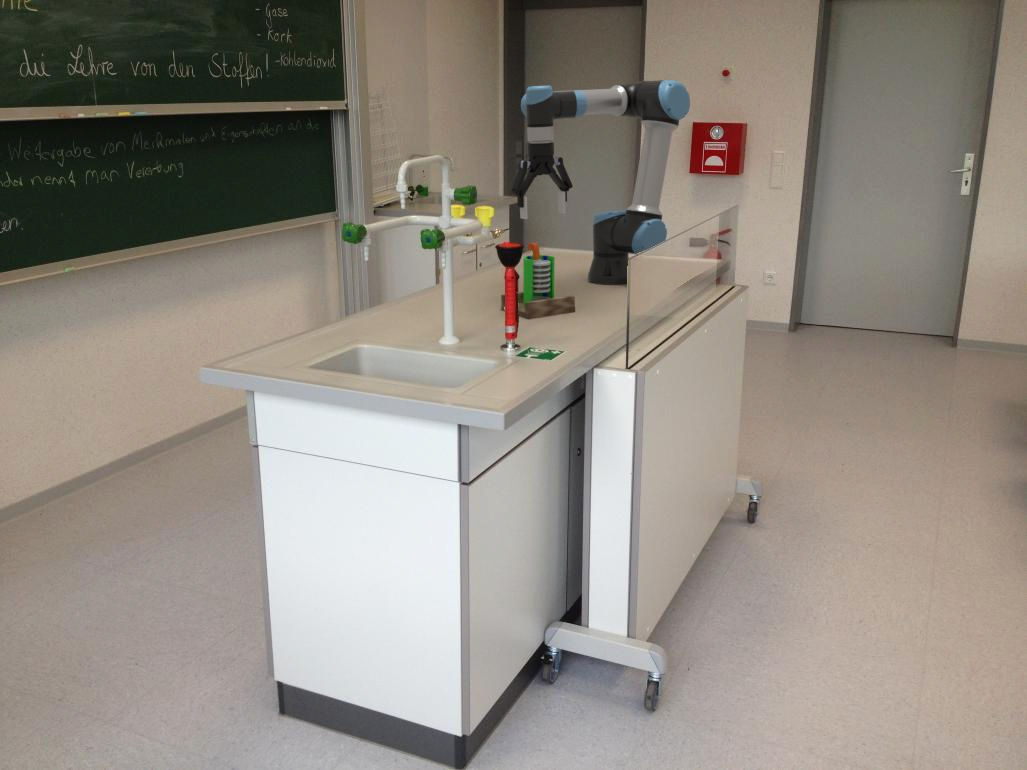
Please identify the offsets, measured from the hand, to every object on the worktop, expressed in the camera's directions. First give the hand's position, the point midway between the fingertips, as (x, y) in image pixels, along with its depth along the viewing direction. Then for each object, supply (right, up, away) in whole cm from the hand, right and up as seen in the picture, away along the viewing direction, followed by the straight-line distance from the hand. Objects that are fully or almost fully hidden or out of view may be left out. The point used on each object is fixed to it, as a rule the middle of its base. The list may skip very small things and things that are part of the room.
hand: (543, 216), depth 286 cm
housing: (-2, -28, -3) cm, 28 cm away
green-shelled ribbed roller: (-2, -27, -3) cm, 27 cm away
